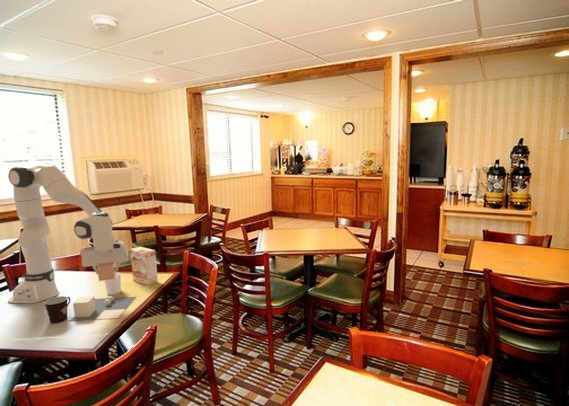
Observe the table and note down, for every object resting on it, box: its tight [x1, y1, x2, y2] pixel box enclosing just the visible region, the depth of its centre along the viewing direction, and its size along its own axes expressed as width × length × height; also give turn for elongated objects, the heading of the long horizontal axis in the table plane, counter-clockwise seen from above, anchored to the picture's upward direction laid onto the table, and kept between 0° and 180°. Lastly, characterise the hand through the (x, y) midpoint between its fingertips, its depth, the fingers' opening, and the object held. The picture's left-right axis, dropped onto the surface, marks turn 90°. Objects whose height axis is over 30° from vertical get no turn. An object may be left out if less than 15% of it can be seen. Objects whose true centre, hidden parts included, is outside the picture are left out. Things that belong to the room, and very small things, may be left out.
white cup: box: [104, 272, 122, 296], centre depth 187 cm, size 8×8×10 cm
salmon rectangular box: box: [96, 263, 117, 282], centre depth 168 cm, size 7×9×7 cm
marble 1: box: [104, 299, 111, 306], centre depth 171 cm, size 3×3×3 cm
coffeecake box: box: [129, 246, 159, 286], centre depth 202 cm, size 15×7×20 cm, turn 55°
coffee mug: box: [44, 295, 71, 325], centre depth 158 cm, size 12×9×10 cm
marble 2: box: [107, 295, 116, 302], centre depth 175 cm, size 3×3×3 cm
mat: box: [69, 296, 137, 322], centre depth 168 cm, size 22×24×1 cm
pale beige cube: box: [72, 296, 96, 317], centre depth 162 cm, size 7×7×7 cm
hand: (107, 272), depth 168 cm, fingers closed on salmon rectangular box, 7 cm apart
